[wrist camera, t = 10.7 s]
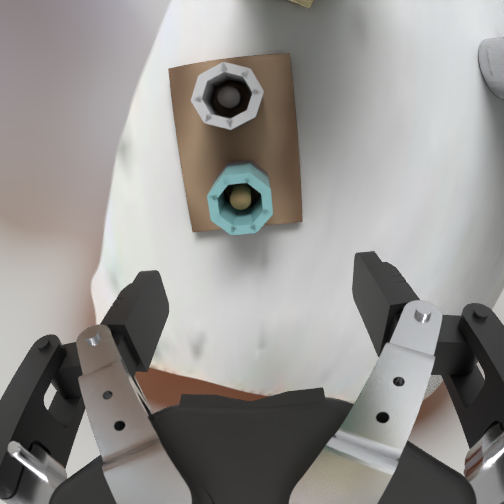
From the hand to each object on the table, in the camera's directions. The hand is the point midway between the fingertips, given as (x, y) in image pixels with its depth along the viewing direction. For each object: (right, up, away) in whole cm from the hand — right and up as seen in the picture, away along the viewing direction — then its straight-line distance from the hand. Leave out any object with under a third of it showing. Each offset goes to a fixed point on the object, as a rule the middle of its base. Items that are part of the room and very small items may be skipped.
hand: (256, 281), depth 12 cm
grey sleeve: (-2, +16, +14) cm, 21 cm away
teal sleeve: (-1, +8, +18) cm, 20 cm away
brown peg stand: (-2, +13, +17) cm, 21 cm away
